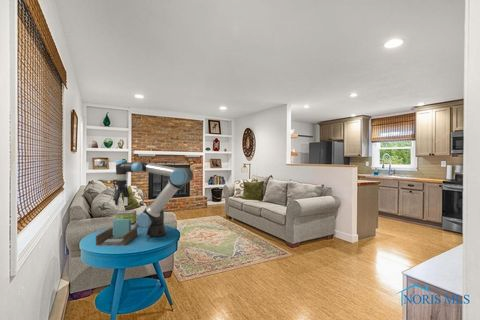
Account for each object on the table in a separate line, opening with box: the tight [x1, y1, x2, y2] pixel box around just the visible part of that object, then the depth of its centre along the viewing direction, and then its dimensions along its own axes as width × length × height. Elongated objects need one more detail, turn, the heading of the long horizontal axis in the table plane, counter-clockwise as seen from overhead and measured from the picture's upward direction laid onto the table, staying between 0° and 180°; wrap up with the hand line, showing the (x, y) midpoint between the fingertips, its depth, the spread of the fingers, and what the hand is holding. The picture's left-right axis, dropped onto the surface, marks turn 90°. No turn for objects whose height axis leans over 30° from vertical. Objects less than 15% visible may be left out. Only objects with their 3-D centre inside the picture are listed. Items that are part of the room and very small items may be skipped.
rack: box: [95, 226, 138, 247], centre depth 180 cm, size 20×20×8 cm
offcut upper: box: [103, 239, 123, 244], centre depth 174 cm, size 12×5×2 cm, turn 92°
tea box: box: [115, 209, 137, 230], centre depth 216 cm, size 15×10×15 cm
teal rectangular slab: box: [112, 218, 132, 237], centre depth 186 cm, size 12×3×15 cm, turn 90°
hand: (121, 207), depth 186 cm, fingers open, 13 cm apart
